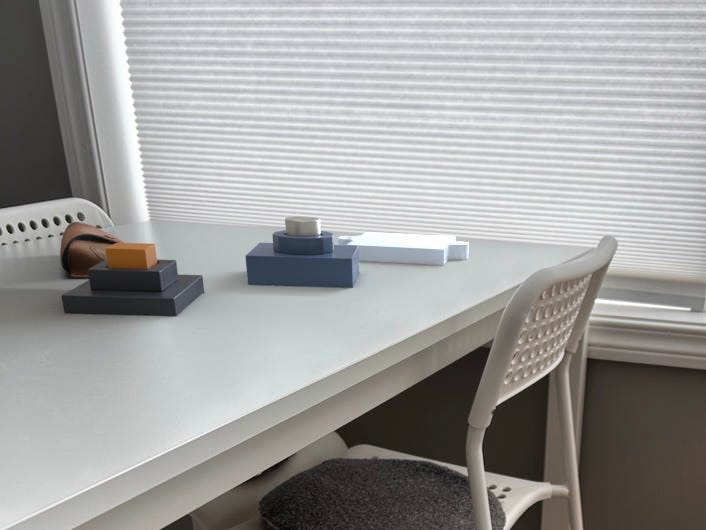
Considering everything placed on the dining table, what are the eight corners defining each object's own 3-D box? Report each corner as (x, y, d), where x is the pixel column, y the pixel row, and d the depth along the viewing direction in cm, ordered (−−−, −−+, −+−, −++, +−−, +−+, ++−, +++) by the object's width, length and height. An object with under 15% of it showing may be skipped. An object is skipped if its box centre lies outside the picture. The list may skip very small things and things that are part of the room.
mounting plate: (472, 251, 136) (473, 237, 135) (462, 266, 125) (463, 250, 124) (349, 245, 137) (348, 231, 136) (328, 259, 126) (327, 243, 125)
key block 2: (247, 285, 109) (243, 238, 106) (261, 270, 117) (258, 226, 115) (352, 288, 109) (351, 241, 107) (359, 273, 118) (358, 229, 115)
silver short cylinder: (283, 239, 109) (282, 220, 108) (288, 234, 112) (287, 215, 111) (318, 240, 109) (317, 221, 108) (322, 235, 113) (321, 217, 112)
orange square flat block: (108, 271, 88) (104, 248, 87) (119, 265, 91) (116, 242, 90) (148, 272, 88) (144, 249, 87) (157, 266, 91) (154, 243, 90)
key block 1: (67, 331, 86) (56, 274, 84) (107, 305, 97) (98, 253, 94) (178, 334, 87) (171, 277, 84) (206, 307, 97) (200, 256, 95)
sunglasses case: (142, 272, 110) (102, 218, 106) (92, 306, 110) (50, 254, 106) (132, 249, 125) (97, 201, 121) (88, 279, 124) (51, 232, 120)
